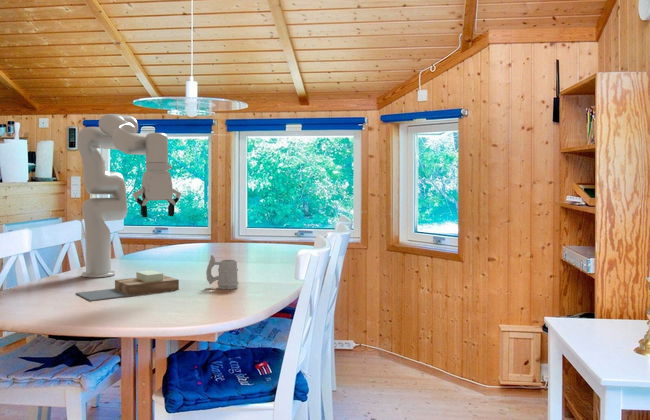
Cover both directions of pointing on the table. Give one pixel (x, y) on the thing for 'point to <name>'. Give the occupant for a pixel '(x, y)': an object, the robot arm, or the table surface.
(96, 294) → the mat
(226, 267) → the mug
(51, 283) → the table surface
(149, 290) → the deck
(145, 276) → the tile
